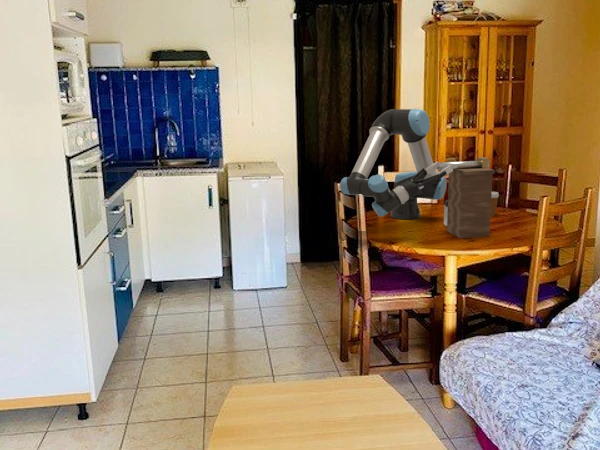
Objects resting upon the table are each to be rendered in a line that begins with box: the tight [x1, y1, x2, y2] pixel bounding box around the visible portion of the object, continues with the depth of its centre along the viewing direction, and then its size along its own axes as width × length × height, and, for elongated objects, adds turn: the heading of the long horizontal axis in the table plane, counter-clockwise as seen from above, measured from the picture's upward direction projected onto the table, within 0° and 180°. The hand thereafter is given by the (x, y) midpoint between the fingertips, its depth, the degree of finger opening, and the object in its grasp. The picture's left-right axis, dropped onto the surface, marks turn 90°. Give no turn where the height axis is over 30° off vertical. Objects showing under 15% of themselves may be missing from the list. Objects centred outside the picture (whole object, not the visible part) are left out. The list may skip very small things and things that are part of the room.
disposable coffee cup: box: [490, 191, 500, 218], centre depth 309 cm, size 10×10×12 cm
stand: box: [446, 167, 496, 239], centre depth 269 cm, size 18×14×30 cm
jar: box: [443, 199, 448, 227], centre depth 289 cm, size 9×8×12 cm
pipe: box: [436, 156, 491, 171], centre depth 265 cm, size 4×24×4 cm, turn 102°
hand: (445, 165), depth 263 cm, fingers open, 13 cm apart
